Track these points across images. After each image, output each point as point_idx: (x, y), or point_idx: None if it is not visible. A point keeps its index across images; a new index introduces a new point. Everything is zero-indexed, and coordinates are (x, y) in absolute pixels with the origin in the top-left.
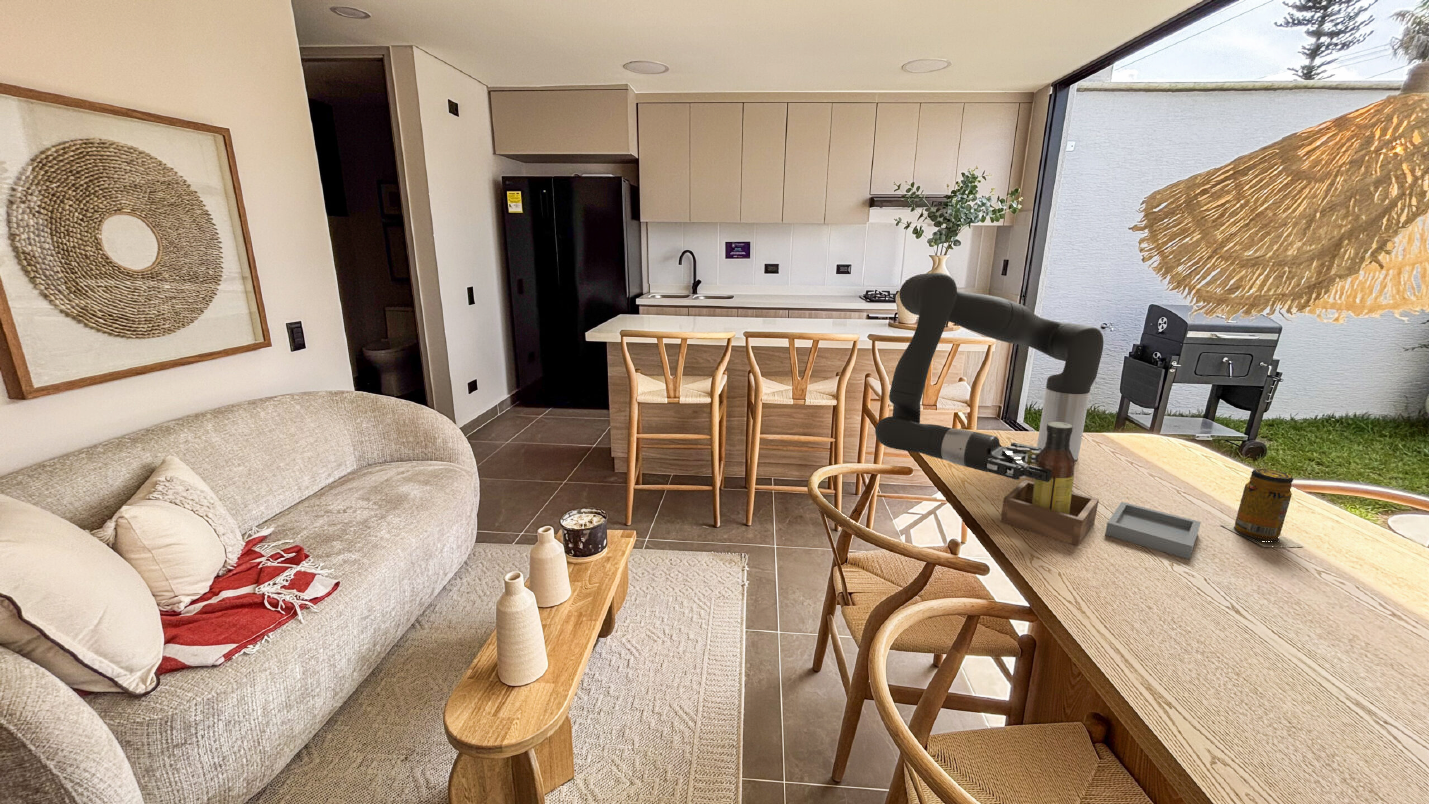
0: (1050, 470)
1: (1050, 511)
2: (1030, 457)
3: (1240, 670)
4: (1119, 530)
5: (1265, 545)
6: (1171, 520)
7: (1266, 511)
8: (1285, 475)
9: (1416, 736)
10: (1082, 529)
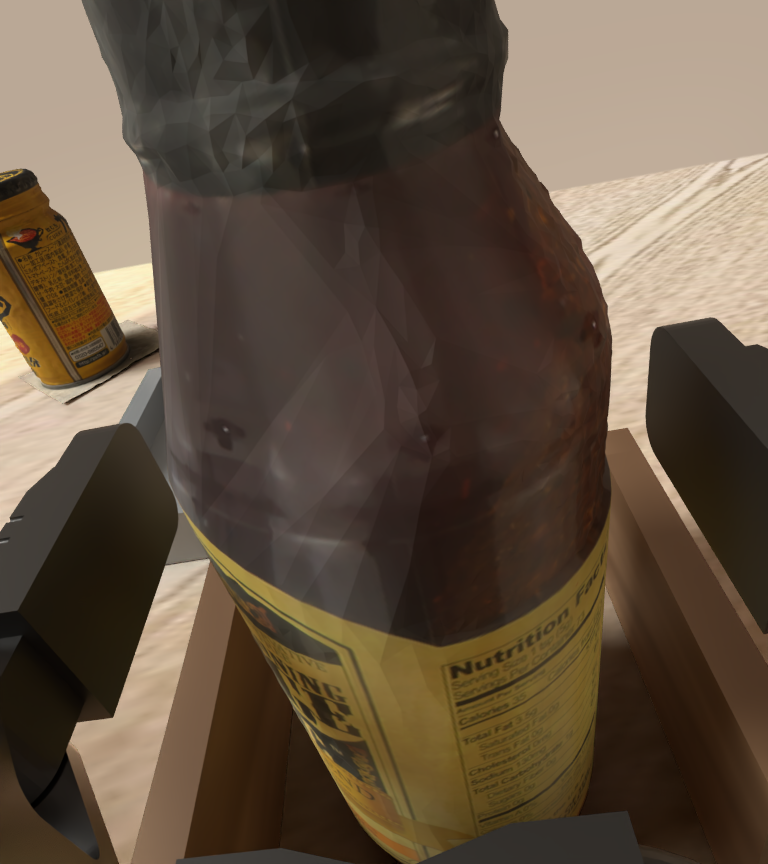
0: (665, 326)
1: (703, 561)
2: (65, 851)
3: None
4: None
5: None
6: (151, 421)
7: (90, 274)
8: None
9: (721, 161)
10: None
